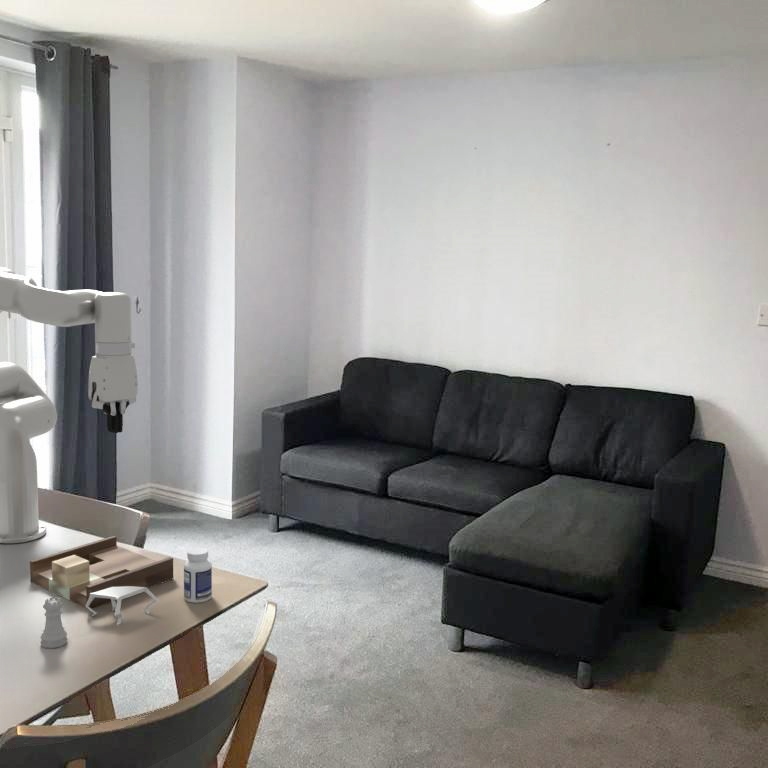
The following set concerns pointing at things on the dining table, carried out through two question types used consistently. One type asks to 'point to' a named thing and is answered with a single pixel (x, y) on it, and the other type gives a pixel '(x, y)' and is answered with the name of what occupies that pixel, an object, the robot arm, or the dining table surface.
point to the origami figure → (119, 597)
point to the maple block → (70, 571)
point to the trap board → (102, 571)
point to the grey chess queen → (53, 625)
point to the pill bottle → (197, 576)
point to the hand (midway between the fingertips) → (115, 431)
